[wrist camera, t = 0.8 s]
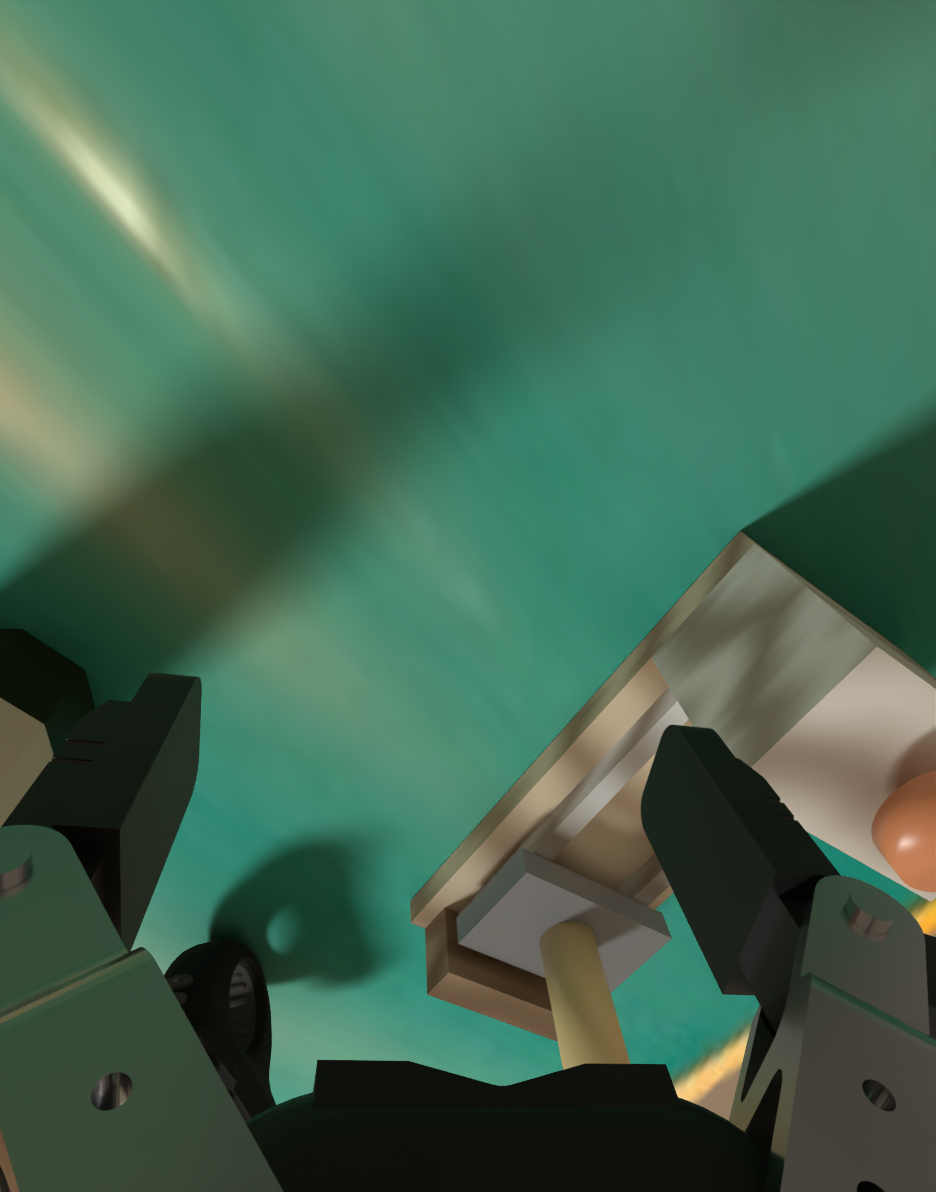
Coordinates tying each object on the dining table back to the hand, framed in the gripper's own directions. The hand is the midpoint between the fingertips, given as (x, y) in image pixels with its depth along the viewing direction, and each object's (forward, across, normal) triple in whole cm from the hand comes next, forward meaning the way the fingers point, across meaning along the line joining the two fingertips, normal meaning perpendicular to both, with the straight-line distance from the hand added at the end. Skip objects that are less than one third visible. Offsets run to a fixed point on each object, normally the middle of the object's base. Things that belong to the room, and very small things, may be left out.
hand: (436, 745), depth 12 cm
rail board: (+20, -15, +15) cm, 30 cm away
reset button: (+8, -19, +7) cm, 22 cm away
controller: (+22, +6, +32) cm, 39 cm away
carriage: (+18, -12, +23) cm, 31 cm away
